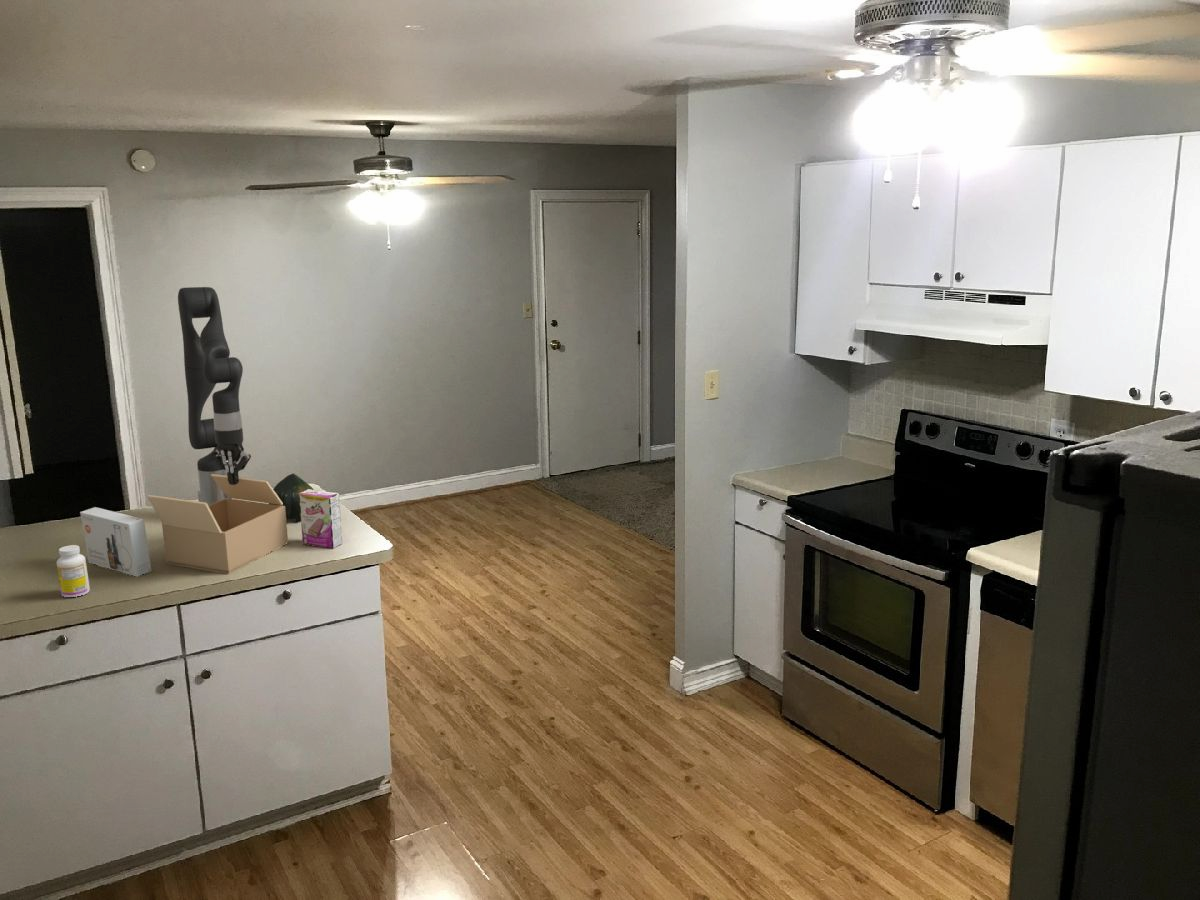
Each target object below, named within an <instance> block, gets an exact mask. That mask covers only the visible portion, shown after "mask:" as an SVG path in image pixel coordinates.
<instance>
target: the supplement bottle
mask: <svg viewBox="0 0 1200 900" xmlns="http://www.w3.org/2000/svg"><path fill="white" fill-rule="evenodd" d="M80 551H81V550H80V546H79V545H77V544H71V545H66V546H62V547H60V548H59V549H58V555H60V557H59V558H58V559H57V560H56V568H57V575H58V580H59V588H60V593H61V596H62V597H63V596H64V597H63V598H65V597H76V598H78V597H77V596H81V595H83V596H85V594H86V595H87V594H89V592H90V590H91V589H90V581H89V574H88V566H87V561H86V557H85V556H84V555H83V554H81V553H80ZM81 597H82V596H81Z"/></svg>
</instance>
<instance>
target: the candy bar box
mask: <svg viewBox="0 0 1200 900" xmlns="http://www.w3.org/2000/svg"><path fill="white" fill-rule="evenodd" d="M299 501H300V514H301V521H300V523H301V538H302V544H303V545H305V544H309V545H308V546H312V545H314V546H313V547H318V546H320V547H321V548H325V547H326V549H332V548H333V550H334V549H336V548H337V546H338V547H339V546H341V545H342V544H343V537H342V536H343V535H342V519H341V518H342V517H341V506H340V505H341V504H340V493H338V492H331V491H324V490H318V489H317V490H316V489H314V490H311V489H307V490H305V491H303V492H301V493H299ZM340 544H341V545H340ZM320 547H319V548H320ZM335 547H336V548H335Z"/></svg>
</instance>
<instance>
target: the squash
mask: <svg viewBox="0 0 1200 900" xmlns="http://www.w3.org/2000/svg"><path fill="white" fill-rule="evenodd" d="M272 488H273V490H274V491H275V493H276V494H277V495H278V497H279V498H280V500H281V501H282V502H283V505H281V506H285V511H286V520H287V519H288V520H289V519H293V520H294V521H296V522H301V514H300V501H299V493H301V492H303V491H305V490H307V489H311V490H315V489H314V488H313V487H312V486H311V485H310V484H309V483H307V482H306V481H305V480H304V479H302V478H301V477H300V476H298V475H297V474H295V473H290V474H288V475H287V476H286V477H284V478H283V479H282V480H280V481H279V482H278V483H276V485H275V486H274V487H272ZM268 504H270V503H268ZM273 505H278V504H273Z"/></svg>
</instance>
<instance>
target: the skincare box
mask: <svg viewBox="0 0 1200 900" xmlns="http://www.w3.org/2000/svg"><path fill="white" fill-rule="evenodd" d="M79 514H80V519H81V524H82V525H81V526H82V531H83V537H84V543H85V547H86V554H87V560H88V564H90V563H93V564H96V565H99V566H98V567H100V566H102V567H101V568H103V567H106V568H105V569H107V568H110V569H113V570H117V571H121V572H124V573H127V574H130V575H129V576H131V575H133V576H132V577H134V576H139V577H141V576H143V575H142V574H144V575H145V573H146V574H148V573H147V572H149V573H151V572H152V571H153V570H152V563H151V558H150V550H149V543H148V538H147V533H146V532H147V531H146V526H145V519H144V518H140V517H137V516H133V515H129V514H126V513H121V512H116V511H113V510H108V509H105V508H101V507H96V506H94V507H91V508H88V509H85V510H83V511H80V512H79ZM93 564H92V565H93ZM96 565H95V566H96ZM110 569H109V570H110ZM113 570H112V571H113ZM117 571H116V572H117ZM150 571H151V572H150ZM124 573H123V574H124ZM127 574H126V575H127ZM140 575H141V576H140Z"/></svg>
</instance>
